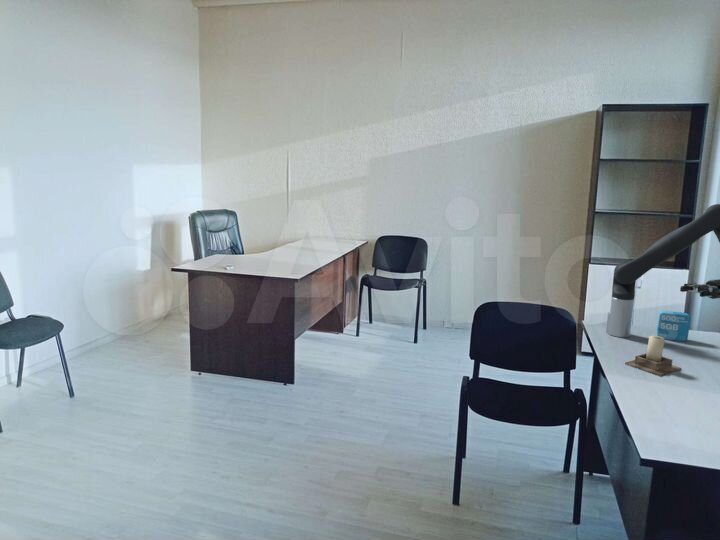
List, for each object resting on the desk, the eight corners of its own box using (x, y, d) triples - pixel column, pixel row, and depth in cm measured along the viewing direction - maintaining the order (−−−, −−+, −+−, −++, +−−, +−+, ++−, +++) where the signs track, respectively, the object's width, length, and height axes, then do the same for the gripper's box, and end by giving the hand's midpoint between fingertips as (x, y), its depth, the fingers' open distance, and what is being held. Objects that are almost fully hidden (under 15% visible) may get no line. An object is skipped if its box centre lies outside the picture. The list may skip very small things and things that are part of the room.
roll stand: (624, 364, 218) (625, 355, 217) (646, 358, 225) (647, 349, 224) (659, 376, 206) (660, 367, 205) (681, 369, 213) (682, 360, 212)
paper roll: (642, 363, 216) (646, 336, 214) (649, 361, 219) (654, 334, 217) (655, 368, 212) (659, 340, 210) (663, 366, 215) (667, 338, 212)
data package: (656, 338, 250) (660, 312, 248) (655, 335, 255) (659, 309, 252) (687, 342, 246) (691, 315, 243) (686, 339, 250) (689, 313, 247)
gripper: (705, 275, 230) (676, 278, 224) (739, 283, 217) (708, 286, 211) (702, 293, 231) (673, 296, 226) (736, 302, 218) (706, 305, 212)
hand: (690, 291), depth 218 cm, fingers open, 8 cm apart
